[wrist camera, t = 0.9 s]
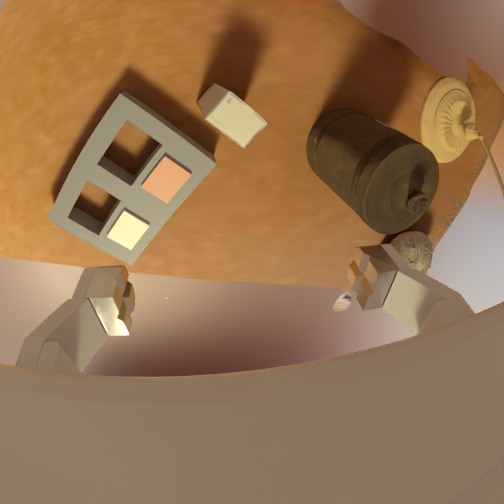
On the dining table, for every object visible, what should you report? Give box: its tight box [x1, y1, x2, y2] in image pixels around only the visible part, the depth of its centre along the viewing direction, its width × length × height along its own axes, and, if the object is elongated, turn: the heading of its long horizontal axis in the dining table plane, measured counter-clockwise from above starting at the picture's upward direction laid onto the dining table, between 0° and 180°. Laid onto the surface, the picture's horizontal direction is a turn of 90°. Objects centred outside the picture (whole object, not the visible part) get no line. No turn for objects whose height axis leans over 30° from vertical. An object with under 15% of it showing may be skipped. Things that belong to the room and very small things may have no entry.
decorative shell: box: [390, 231, 433, 274], centre depth 66 cm, size 18×18×10 cm
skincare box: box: [197, 83, 267, 148], centre depth 33 cm, size 6×4×12 cm
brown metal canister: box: [307, 109, 439, 234], centre depth 39 cm, size 15×15×22 cm
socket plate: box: [48, 91, 217, 266], centre depth 40 cm, size 18×24×4 cm
